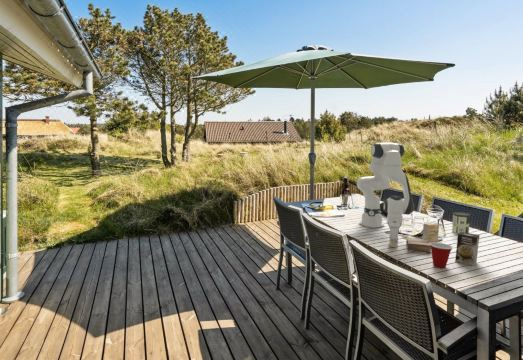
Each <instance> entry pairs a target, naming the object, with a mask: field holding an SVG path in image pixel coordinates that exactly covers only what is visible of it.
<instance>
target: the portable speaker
mask: <svg viewBox="0 0 523 360" xmlns="http://www.w3.org/2000/svg"><path fill="white" fill-rule="evenodd" d="M383 206H384V201H383V202H380V213H382V214H384V215H386V216H387V215H388V212H386V211H384V210H383Z"/></svg>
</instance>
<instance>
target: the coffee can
mask: <svg viewBox="0 0 523 360" xmlns="http://www.w3.org/2000/svg"><path fill="white" fill-rule="evenodd" d="M452 214H453V215H452V228H451V232H452V234H454V235H455V234H456V235H458V233H459V232H465V233H470V223H471V222H470V221H471V220H470V218H471V214H470V213H468V212H462V211H461V212H459V211H454V212H452Z"/></svg>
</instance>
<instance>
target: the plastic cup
mask: <svg viewBox="0 0 523 360" xmlns="http://www.w3.org/2000/svg"><path fill="white" fill-rule="evenodd" d="M430 246H431V249H430V253H431V259H432V265H433V266H434V267H435V268H437V269H445V268H446V267H447V265H448V264H447V263H448V261H449V257H450V254H451V251H452V250H453V248H454V246H452V245H450V244H447V243H443V242H438V243H436V242H432V243H430Z"/></svg>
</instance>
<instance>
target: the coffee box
mask: <svg viewBox="0 0 523 360" xmlns="http://www.w3.org/2000/svg"><path fill="white" fill-rule="evenodd" d="M456 240H457V241H456V252H455V262H456V263H461V264H463V265H469V266H472V267H475V266H476V265H477V261H478V250H479V242H480V235H479V234H475V233H470V232H469V233H465V232H459V233H458V234H457V239H456Z"/></svg>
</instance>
